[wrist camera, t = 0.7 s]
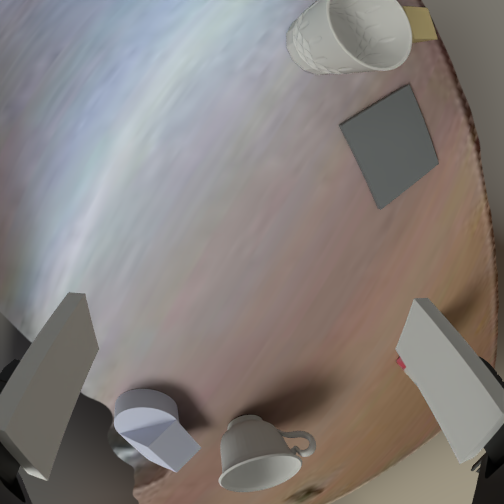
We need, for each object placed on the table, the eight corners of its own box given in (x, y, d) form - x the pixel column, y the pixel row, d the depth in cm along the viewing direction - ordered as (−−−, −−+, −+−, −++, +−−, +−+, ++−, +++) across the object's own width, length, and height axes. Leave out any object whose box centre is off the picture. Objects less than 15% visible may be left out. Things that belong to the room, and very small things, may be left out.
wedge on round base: (198, 431, 43) (159, 381, 37) (204, 465, 37) (162, 421, 31) (148, 443, 42) (103, 397, 36) (150, 477, 36) (99, 435, 30)
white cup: (350, 85, 28) (414, 80, 19) (279, 76, 27) (327, 60, 18) (349, 19, 25) (409, -4, 16) (279, 6, 23) (324, -33, 15)
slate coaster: (338, 125, 30) (341, 125, 29) (406, 84, 30) (409, 84, 29) (377, 208, 35) (380, 209, 34) (435, 162, 35) (438, 163, 34)
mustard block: (382, 13, 26) (403, 6, 22) (405, 13, 26) (427, 7, 22) (392, 43, 27) (414, 39, 24) (415, 42, 28) (437, 39, 24)
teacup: (306, 417, 48) (328, 462, 39) (228, 451, 47) (241, 498, 38) (283, 381, 42) (308, 434, 33) (192, 421, 42) (203, 477, 33)
